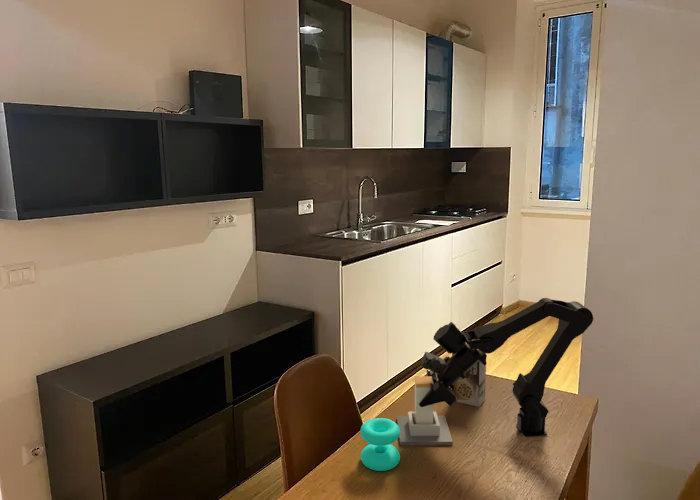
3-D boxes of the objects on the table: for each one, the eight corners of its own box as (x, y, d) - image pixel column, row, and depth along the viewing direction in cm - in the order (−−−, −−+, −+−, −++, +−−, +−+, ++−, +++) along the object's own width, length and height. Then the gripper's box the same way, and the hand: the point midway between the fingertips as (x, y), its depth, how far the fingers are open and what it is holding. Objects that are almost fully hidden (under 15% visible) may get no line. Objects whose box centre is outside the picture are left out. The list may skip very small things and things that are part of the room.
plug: (431, 418, 155) (431, 376, 152) (433, 427, 150) (433, 383, 147) (414, 419, 155) (414, 376, 152) (416, 427, 150) (416, 384, 147)
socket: (444, 418, 159) (444, 406, 159) (452, 445, 146) (452, 431, 145) (396, 419, 160) (396, 406, 159) (400, 445, 146) (400, 431, 145)
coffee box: (485, 399, 171) (487, 350, 168) (478, 407, 166) (480, 357, 163) (458, 392, 176) (459, 345, 173) (450, 400, 171) (451, 352, 167)
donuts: (352, 427, 136) (376, 412, 144) (352, 463, 138) (376, 446, 146) (384, 440, 130) (407, 424, 138) (384, 478, 132) (407, 459, 140)
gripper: (434, 332, 157) (396, 368, 159) (444, 357, 138) (400, 398, 141) (461, 357, 158) (422, 393, 160) (474, 386, 140) (431, 426, 142)
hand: (418, 401), depth 151 cm, fingers closed on plug, 5 cm apart
